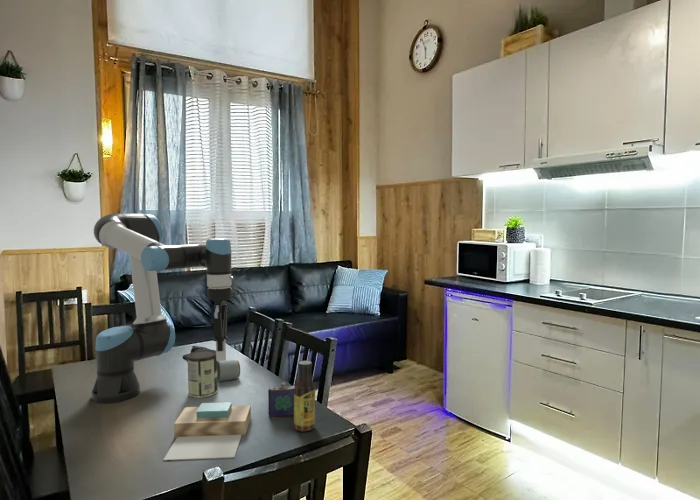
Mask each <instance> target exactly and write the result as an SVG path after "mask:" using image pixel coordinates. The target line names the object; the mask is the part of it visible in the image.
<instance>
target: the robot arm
mask: <svg viewBox="0 0 700 500" xmlns="http://www.w3.org/2000/svg"><path fill="white" fill-rule="evenodd" d="M93 236H94V238H95V240H96V241H97V242H98V243H99V244H100V245H102V246H104V247H106V248H108V249H117V250H119V251H121V252H123V253H125V254H126V255H128V256H129V262H130V264H129V265H130V273H131V279H132V280H131V281H132V288H133V289H132V290H133V297H134V306H135V314H136V318H135V320H134V321H133V322H132V326H130V325H120V326H113V327H110V328H107V329H105V330H102V331H101V332H99V333H98V334H97V336H96V337H95V347H94V350H95V361H96V362H95V363H96V364H95V365H96V377H95V378H96V379H95V381H94V384H93V386H92V390H91V400H92V401H93V402H94V403H99V404H100V403H101V404H112V403H118V402H123V401H126V400H129V399H131V398H135V397H136V396H137V395H139V393H141V385H140V382H139V380H138V377H137V374H136V372H135V363H134V362H136V361H141V360H144V359H149V358H152V357H158V356H161V355H163V354H166V353H168V352H170V350H172V348H173V347H174V344H175V340H176V332H175V328H174V326H173V324H172V323H171V322H169V321H167V316H164V315H163V314H162V307H161V298H160V291H159V283H158V282H159V281H158V273H157V272H163V271H170V270H178V269H191V268H206V287H207V289H206V292H207V296H206V297H207V300H208V301H210V302H211V301H213V302H214V303H213V306H212V312H211V318H212V326H213V327H212V328H213V340H212V341H213V342H215V350H216V361H226V360H227V353H226V352H227V350H226V349H227V348H226V342H227V340H226V339H229V336H227V335H228V333H227V332H228V308H229V306H228V304H227V303H226V301H229V300H231V299H232V298H233V288H232V287H231V286H232V280H234V276H232V252H233V250H232V246H231V245H232V244H231V243H232V242H231V240H230V238H229V239H228V238H220V237H219V238H207V239H206V243H188V244H172V245H170V244H169V245H167V244H164V243H161V242H162V240H163V237H164V231H163V226H162V224H161V222H160V220H159V218H157V217H156V216H155V215H153V214H150V213H144V212H143V213H109V214H106V215H104V216H102V217H101V218H99V219H98V220H97V221H96V222H95V224H94V226H93Z"/></svg>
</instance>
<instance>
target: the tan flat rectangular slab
mask: <svg viewBox="0 0 700 500" xmlns="http://www.w3.org/2000/svg"><path fill="white" fill-rule="evenodd" d="M199 407H200V406H187V407H186V406H185V407H184V408H183V410H182V411H181V412H180V414H179V416H178V417H177V419H176V420H175V421H174V423H173V429H174V431H173V432H174V434H173V435H174V438H177V437H188V436H216V435H242V436H243V435H246V434H247V431H248V428H249V425H250V421H251V418H252V412H251V411H252V406H251V404H250V405H249V404H248V405H232V409H231V411H230V414H229V416H228V417H220V418H197V410H198V408H199Z"/></svg>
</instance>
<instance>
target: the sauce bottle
mask: <svg viewBox="0 0 700 500" xmlns="http://www.w3.org/2000/svg"><path fill="white" fill-rule="evenodd" d="M297 366H298V378H297V380H296V382H295V383H294V386H295V393H294V416H293V426H294V429H295V431H298V432H303V433H304V432H309V431H312V430H313V429H314V426H315V423H316V422H315V421H316V415H315V414H316V387H315V384H314V381H313V378H312V368H313V363H312V361H310V360H302V361H299V362H298V365H297Z"/></svg>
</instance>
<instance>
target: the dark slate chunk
mask: <svg viewBox="0 0 700 500" xmlns="http://www.w3.org/2000/svg"><path fill="white" fill-rule="evenodd" d="M200 350H213V351H216V349H211V348H208V347H205V346H199V345H192V347H191V349H190V353H192V352H195V351H200ZM188 354H189V353H187V354H183V355H182V357H183V358H184V359H185V360H186V361H188V359H187V355H188ZM217 362H218V361H217Z"/></svg>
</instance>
